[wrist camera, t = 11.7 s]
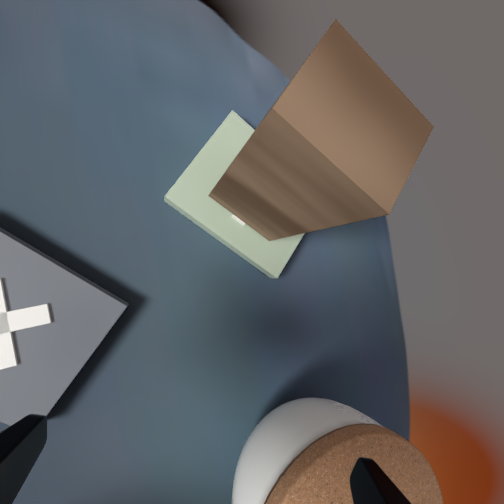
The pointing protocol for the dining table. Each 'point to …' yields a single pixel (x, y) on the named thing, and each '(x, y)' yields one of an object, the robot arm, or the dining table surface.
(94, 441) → the dining table surface
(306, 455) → the lidded jar
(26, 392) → the tile
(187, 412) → the dining table surface
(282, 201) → the walnut block
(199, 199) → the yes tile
